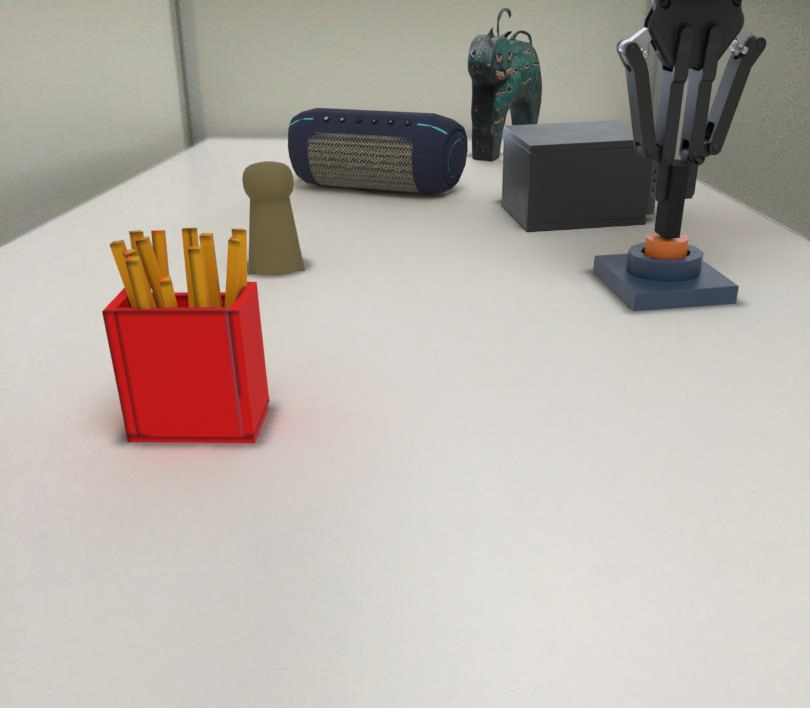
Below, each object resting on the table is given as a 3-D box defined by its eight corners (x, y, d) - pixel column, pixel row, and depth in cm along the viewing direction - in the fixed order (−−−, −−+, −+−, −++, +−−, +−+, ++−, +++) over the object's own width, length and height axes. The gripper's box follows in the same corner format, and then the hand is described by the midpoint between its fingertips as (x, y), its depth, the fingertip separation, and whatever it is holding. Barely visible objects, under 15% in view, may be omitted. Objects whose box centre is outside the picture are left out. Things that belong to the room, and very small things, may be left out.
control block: (685, 270, 101) (690, 231, 98) (735, 308, 91) (742, 266, 88) (592, 276, 99) (595, 237, 97) (633, 316, 89) (637, 274, 87)
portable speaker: (278, 191, 134) (271, 112, 128) (311, 175, 141) (306, 101, 136) (448, 204, 125) (448, 122, 120) (473, 187, 133) (475, 108, 127)
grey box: (610, 198, 126) (618, 119, 121) (645, 224, 116) (654, 138, 110) (501, 205, 124) (504, 125, 119) (526, 232, 114) (530, 145, 109)
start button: (677, 248, 95) (679, 230, 94) (693, 260, 92) (695, 241, 91) (637, 250, 94) (639, 232, 94) (652, 263, 91) (655, 244, 90)
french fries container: (154, 408, 75) (122, 224, 67) (271, 409, 74) (252, 223, 67) (127, 450, 69) (88, 254, 61) (254, 451, 68) (231, 253, 61)
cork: (274, 259, 107) (264, 154, 101) (316, 268, 104) (308, 160, 98) (236, 274, 103) (223, 165, 97) (278, 283, 100) (268, 172, 94)
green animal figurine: (493, 164, 145) (497, 12, 134) (455, 160, 148) (456, 11, 137) (546, 140, 159) (554, 1, 148) (511, 137, 162) (516, 1, 151)
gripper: (758, -60, 83) (715, 220, 96) (612, -56, 82) (588, 228, 94) (801, -58, 77) (749, 241, 90) (644, -54, 75) (613, 249, 88)
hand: (666, 234), depth 92 cm, fingers closed
